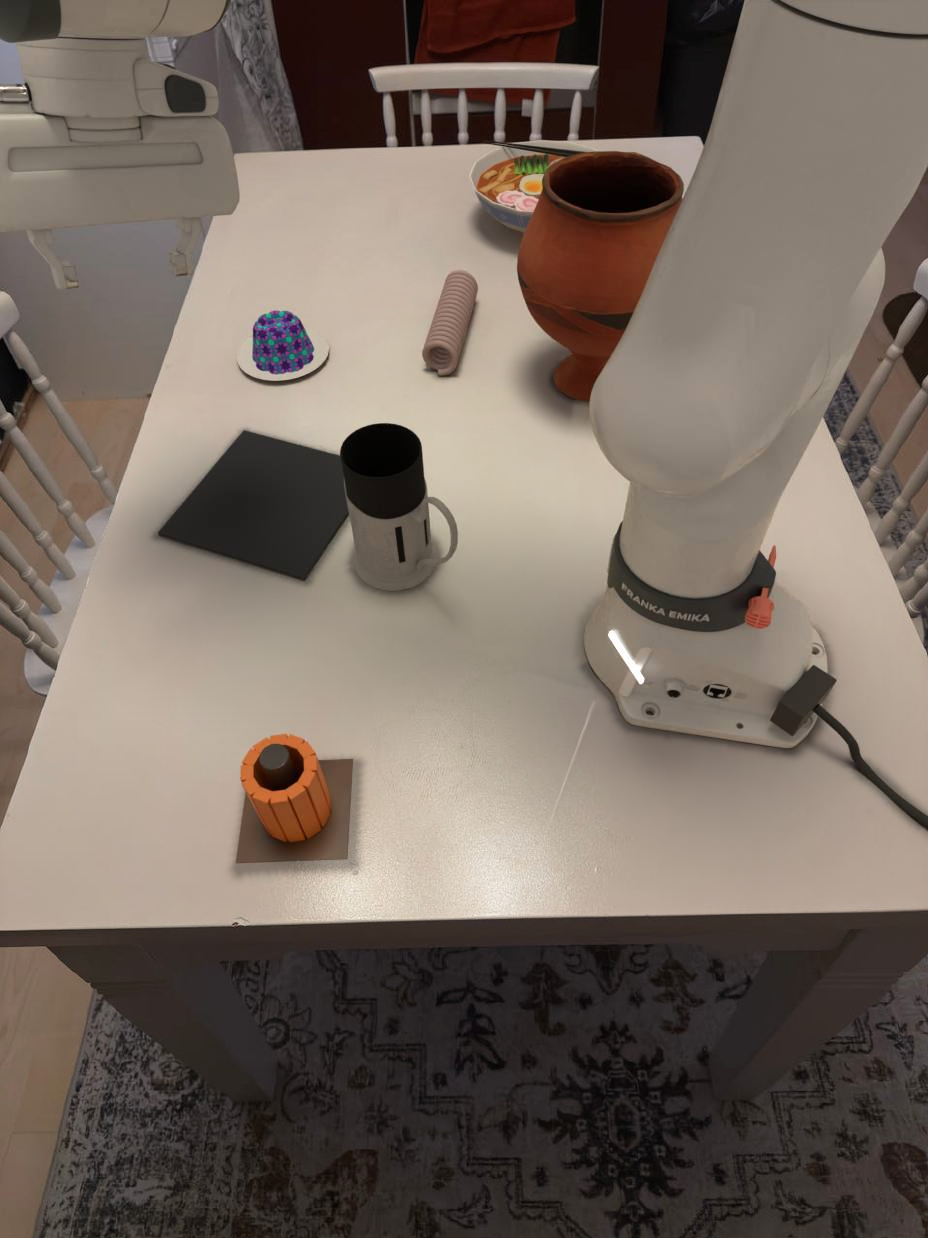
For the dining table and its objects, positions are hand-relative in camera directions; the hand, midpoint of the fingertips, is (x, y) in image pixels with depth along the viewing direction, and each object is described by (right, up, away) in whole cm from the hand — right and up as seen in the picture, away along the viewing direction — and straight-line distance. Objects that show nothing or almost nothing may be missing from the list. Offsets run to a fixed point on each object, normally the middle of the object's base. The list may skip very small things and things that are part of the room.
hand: (126, 280), depth 69 cm
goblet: (+44, +2, +36) cm, 57 cm away
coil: (+27, +10, +42) cm, 51 cm away
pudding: (+5, +6, +40) cm, 41 cm away
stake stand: (+14, -45, +1) cm, 47 cm away
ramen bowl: (+40, +33, +60) cm, 79 cm away
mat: (+7, -15, +24) cm, 29 cm away
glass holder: (+23, -23, +17) cm, 37 cm away
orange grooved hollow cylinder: (+14, -44, 0) cm, 46 cm away
